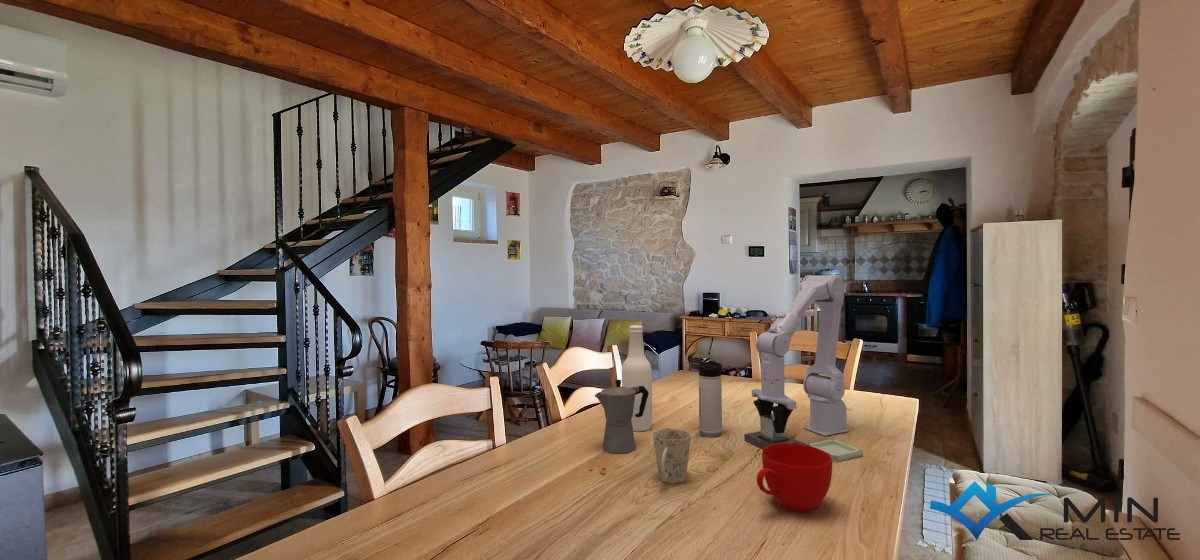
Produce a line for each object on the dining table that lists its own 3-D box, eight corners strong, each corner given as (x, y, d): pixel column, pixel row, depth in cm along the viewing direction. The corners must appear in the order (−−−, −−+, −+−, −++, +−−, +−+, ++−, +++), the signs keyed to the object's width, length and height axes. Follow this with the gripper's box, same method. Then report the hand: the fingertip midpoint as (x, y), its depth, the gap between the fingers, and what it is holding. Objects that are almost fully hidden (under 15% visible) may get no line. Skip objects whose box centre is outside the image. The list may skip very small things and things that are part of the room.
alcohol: (616, 428, 151) (614, 326, 150) (634, 421, 158) (632, 323, 157) (640, 434, 145) (639, 328, 144) (658, 426, 152) (656, 325, 151)
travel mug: (724, 431, 147) (723, 361, 146) (719, 438, 141) (718, 365, 140) (702, 428, 149) (701, 360, 149) (696, 435, 143) (696, 364, 143)
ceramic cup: (734, 504, 102) (733, 454, 102) (792, 485, 111) (792, 439, 110) (786, 533, 91) (786, 477, 91) (847, 509, 99) (847, 458, 99)
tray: (832, 444, 134) (832, 439, 134) (862, 456, 126) (862, 450, 126) (806, 450, 131) (806, 444, 131) (835, 462, 123) (835, 456, 122)
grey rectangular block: (774, 435, 138) (773, 413, 138) (786, 440, 134) (785, 417, 133) (760, 438, 136) (760, 415, 136) (772, 443, 132) (772, 420, 132)
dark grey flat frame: (744, 440, 138) (744, 434, 138) (770, 435, 142) (770, 429, 142) (800, 467, 120) (800, 459, 120) (828, 460, 124) (828, 453, 124)
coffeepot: (603, 458, 128) (602, 386, 127) (589, 446, 137) (588, 378, 136) (657, 448, 134) (656, 379, 133) (640, 437, 143) (639, 373, 142)
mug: (693, 473, 118) (693, 429, 118) (684, 496, 106) (684, 448, 106) (658, 468, 120) (657, 426, 120) (645, 491, 109) (644, 444, 108)
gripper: (742, 374, 139) (742, 424, 140) (780, 385, 126) (781, 440, 126) (762, 372, 142) (763, 420, 143) (802, 382, 129) (803, 436, 129)
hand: (773, 429), depth 135 cm, fingers closed on grey rectangular block, 4 cm apart
